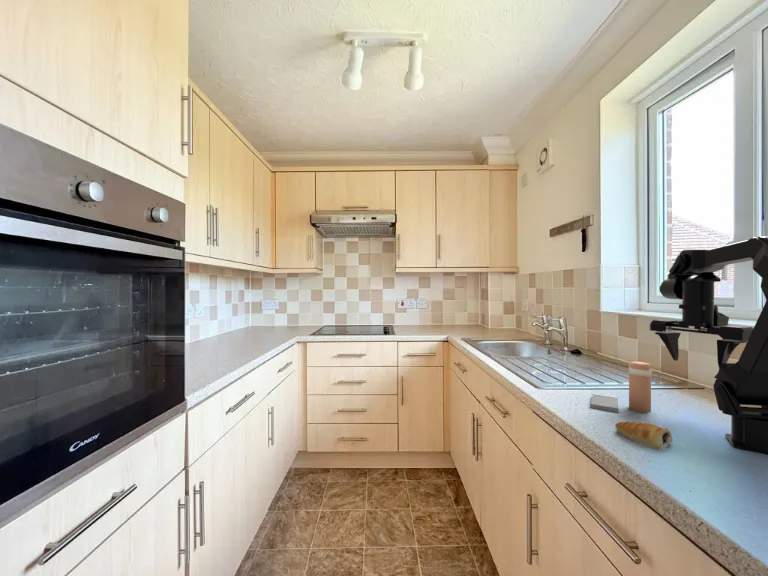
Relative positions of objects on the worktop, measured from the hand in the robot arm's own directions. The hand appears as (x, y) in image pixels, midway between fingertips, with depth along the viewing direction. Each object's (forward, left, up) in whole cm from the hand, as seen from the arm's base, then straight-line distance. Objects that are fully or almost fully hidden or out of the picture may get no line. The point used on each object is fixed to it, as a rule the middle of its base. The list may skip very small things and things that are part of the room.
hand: (697, 364), depth 83 cm
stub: (-1, +11, -13) cm, 17 cm away
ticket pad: (-2, +19, -13) cm, 23 cm away
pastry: (-23, +12, -13) cm, 29 cm away
